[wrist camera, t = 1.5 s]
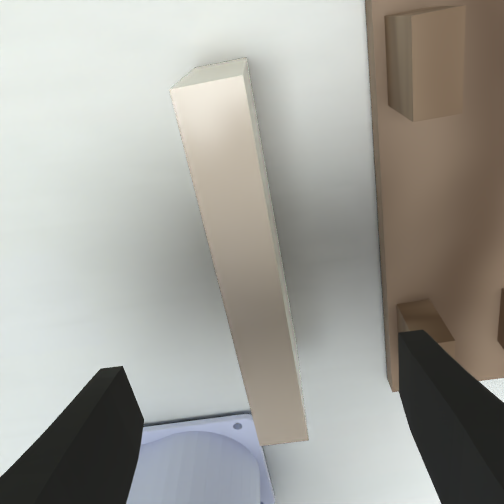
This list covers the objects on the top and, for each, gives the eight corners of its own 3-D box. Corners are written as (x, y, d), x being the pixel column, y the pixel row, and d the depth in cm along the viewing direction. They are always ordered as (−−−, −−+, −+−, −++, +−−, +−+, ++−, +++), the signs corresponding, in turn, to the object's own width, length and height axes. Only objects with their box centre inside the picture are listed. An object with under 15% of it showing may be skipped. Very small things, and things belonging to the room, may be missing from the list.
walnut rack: (387, 378, 24) (410, 440, 21) (361, -64, 15) (393, -89, 12) (522, 360, 24) (569, 421, 20) (578, -112, 15) (683, -153, 11)
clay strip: (258, 349, 24) (259, 446, 18) (195, 67, 17) (169, 89, 12) (296, 344, 24) (308, 440, 18) (246, 56, 17) (243, 75, 12)
